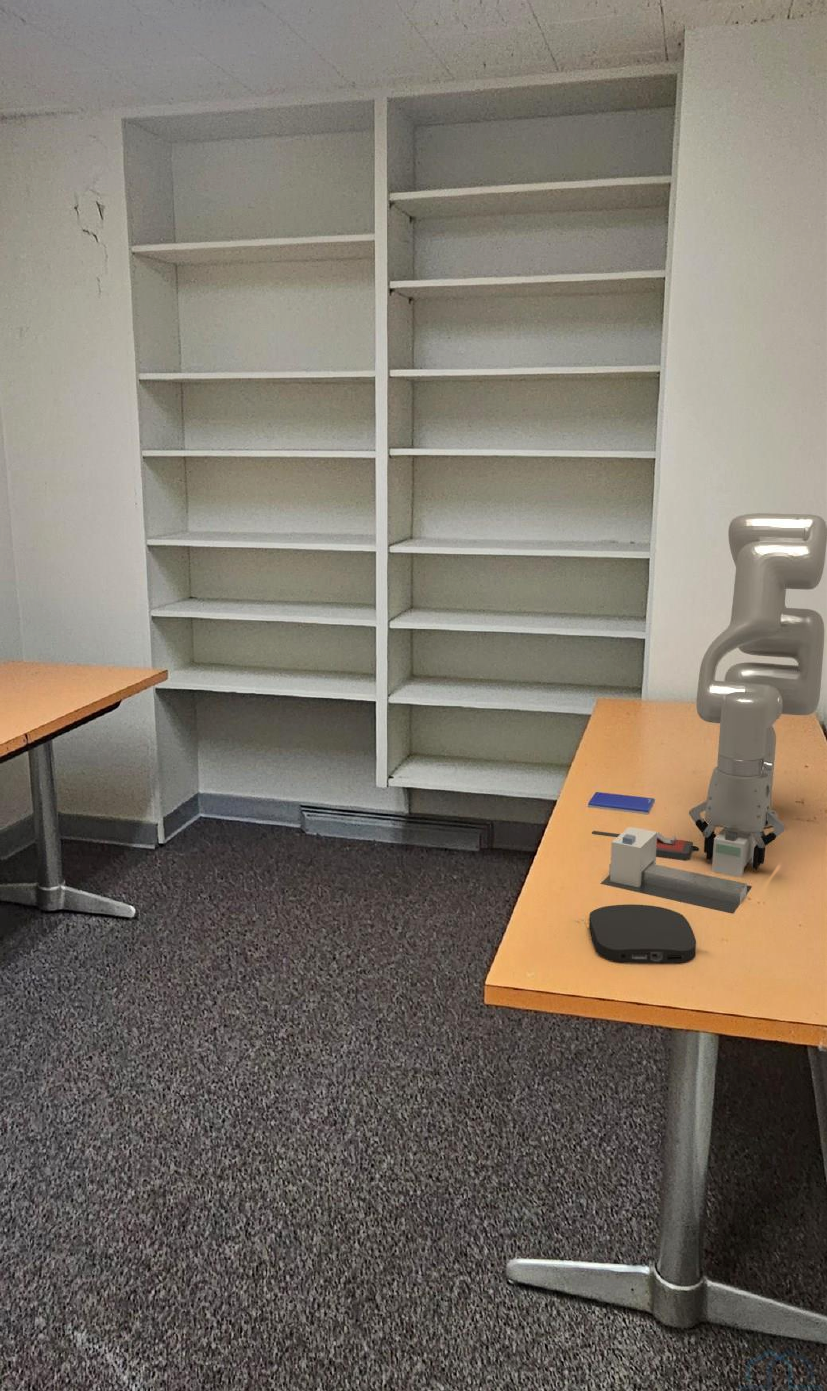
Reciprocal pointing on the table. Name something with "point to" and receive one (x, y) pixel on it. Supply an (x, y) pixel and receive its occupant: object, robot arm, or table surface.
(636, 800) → the hard drive
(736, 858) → the block
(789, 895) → the table surface
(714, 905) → the rail plate
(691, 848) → the walkie-talkie
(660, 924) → the media streaming box
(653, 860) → the mounted module
